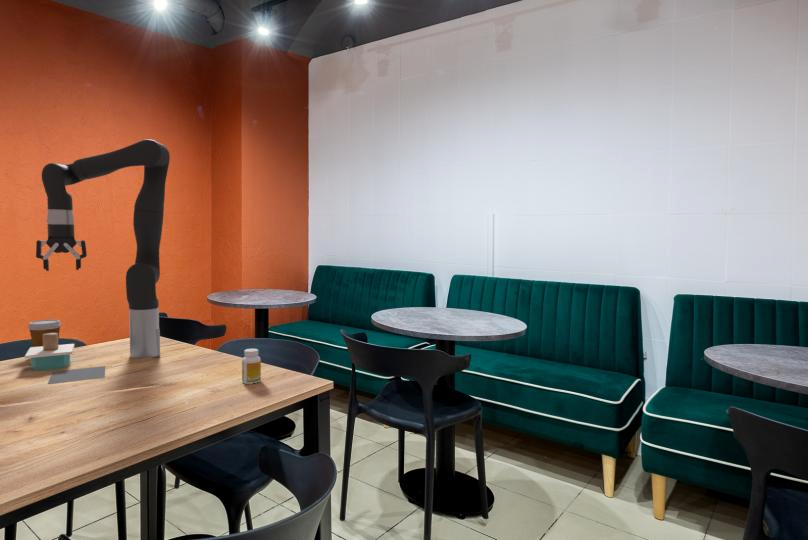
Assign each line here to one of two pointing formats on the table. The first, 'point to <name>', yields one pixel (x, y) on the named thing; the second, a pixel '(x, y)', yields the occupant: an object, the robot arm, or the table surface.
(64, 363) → the bowl
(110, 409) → the table surface
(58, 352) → the lid
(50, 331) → the disposable coffee cup
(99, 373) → the mat
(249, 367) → the supplement bottle
